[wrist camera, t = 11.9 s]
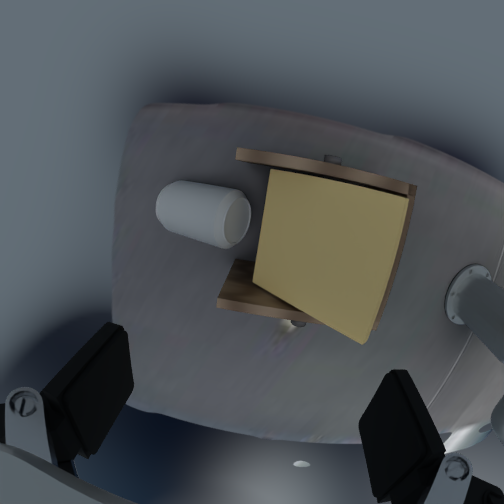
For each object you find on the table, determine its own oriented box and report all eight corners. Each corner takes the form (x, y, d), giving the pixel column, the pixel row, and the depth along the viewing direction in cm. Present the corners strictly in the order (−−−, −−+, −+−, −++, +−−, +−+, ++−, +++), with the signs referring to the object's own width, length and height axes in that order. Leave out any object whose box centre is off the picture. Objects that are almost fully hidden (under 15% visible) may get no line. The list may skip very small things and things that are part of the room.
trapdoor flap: (409, 199, 21) (405, 198, 20) (366, 341, 25) (362, 344, 24) (276, 169, 32) (270, 168, 31) (258, 280, 36) (252, 281, 35)
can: (254, 237, 39) (189, 219, 44) (255, 184, 35) (186, 173, 40) (220, 261, 33) (154, 237, 38) (218, 200, 29) (148, 186, 35)
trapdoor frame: (375, 174, 38) (418, 178, 25) (349, 289, 44) (374, 336, 30) (251, 149, 39) (238, 139, 26) (233, 270, 44) (215, 313, 31)
